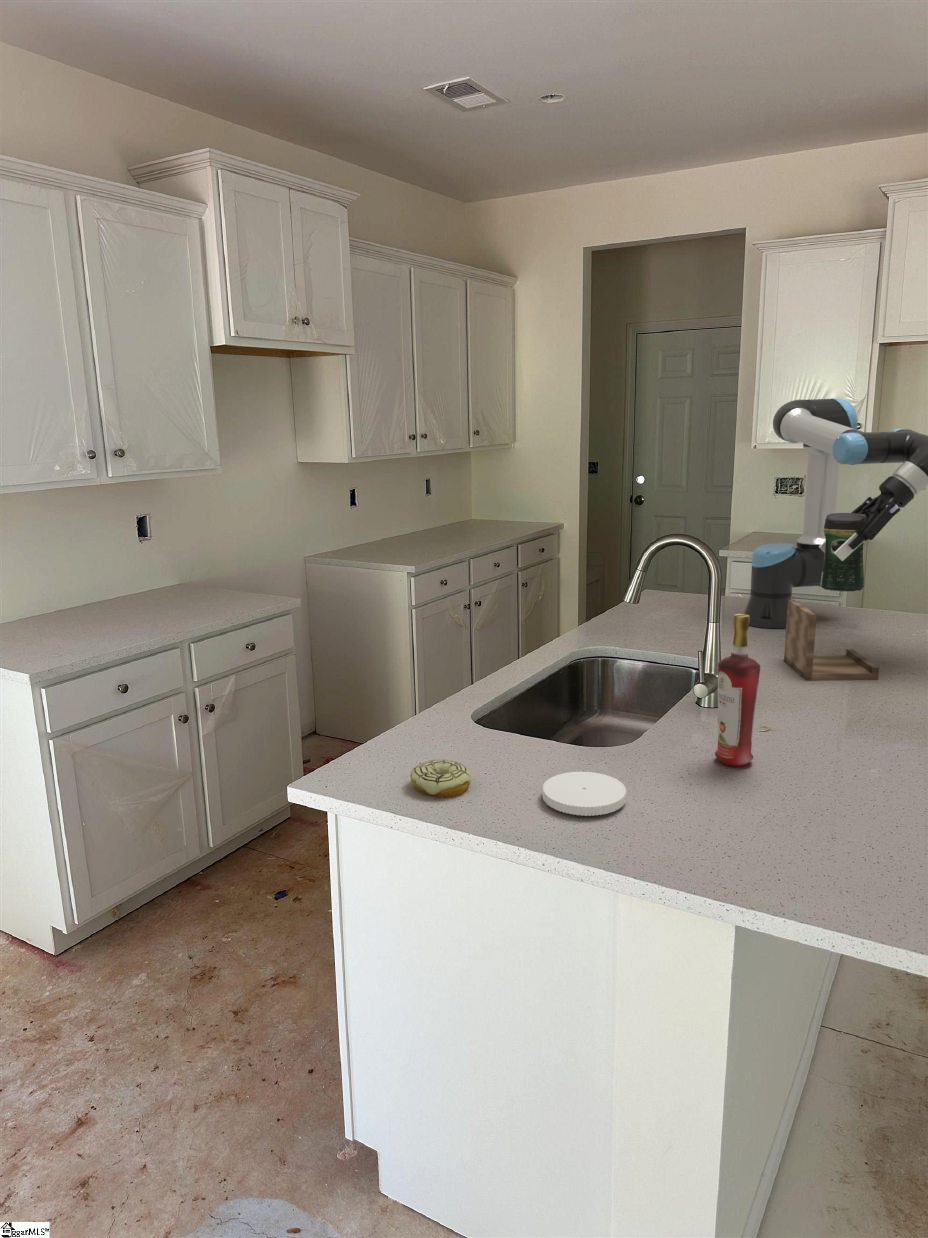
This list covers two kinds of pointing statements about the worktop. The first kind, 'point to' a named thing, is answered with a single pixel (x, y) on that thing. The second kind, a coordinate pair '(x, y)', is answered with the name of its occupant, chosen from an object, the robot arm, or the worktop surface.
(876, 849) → the worktop surface
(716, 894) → the worktop surface
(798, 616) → the wooden board stand
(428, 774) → the decorated donut
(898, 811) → the worktop surface
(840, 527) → the coffee jar
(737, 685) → the liquor
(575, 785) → the plastic lid
